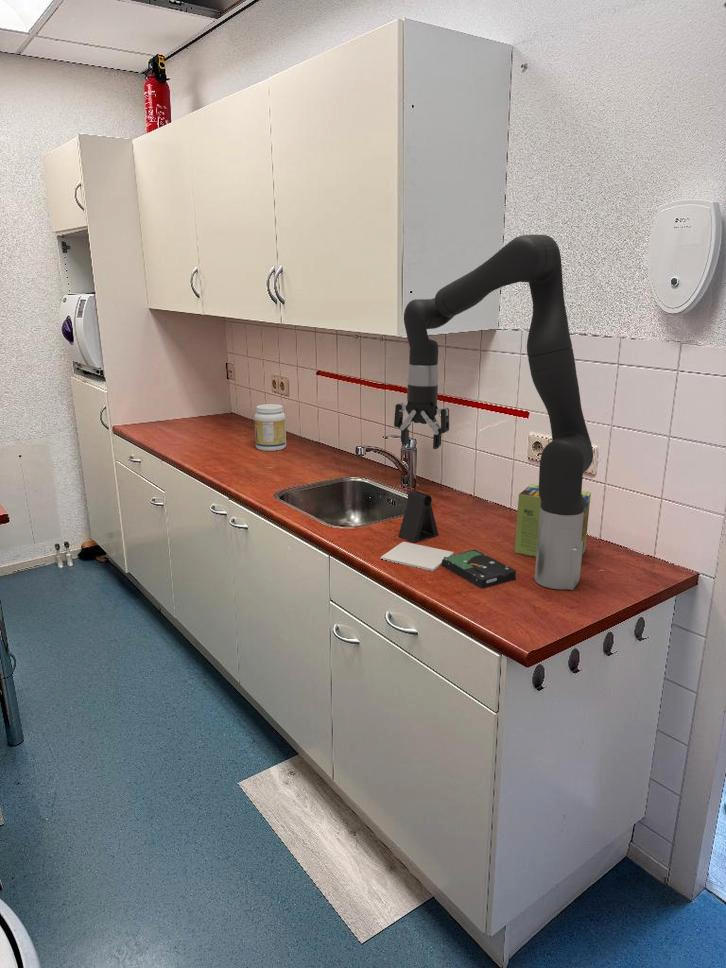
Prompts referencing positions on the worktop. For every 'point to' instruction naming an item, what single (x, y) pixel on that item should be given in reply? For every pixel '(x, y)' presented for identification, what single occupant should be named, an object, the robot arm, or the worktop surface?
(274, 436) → the supplement tub
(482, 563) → the disk drive
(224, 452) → the worktop surface
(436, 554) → the grey mat
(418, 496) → the phone stand
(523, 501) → the protein box
